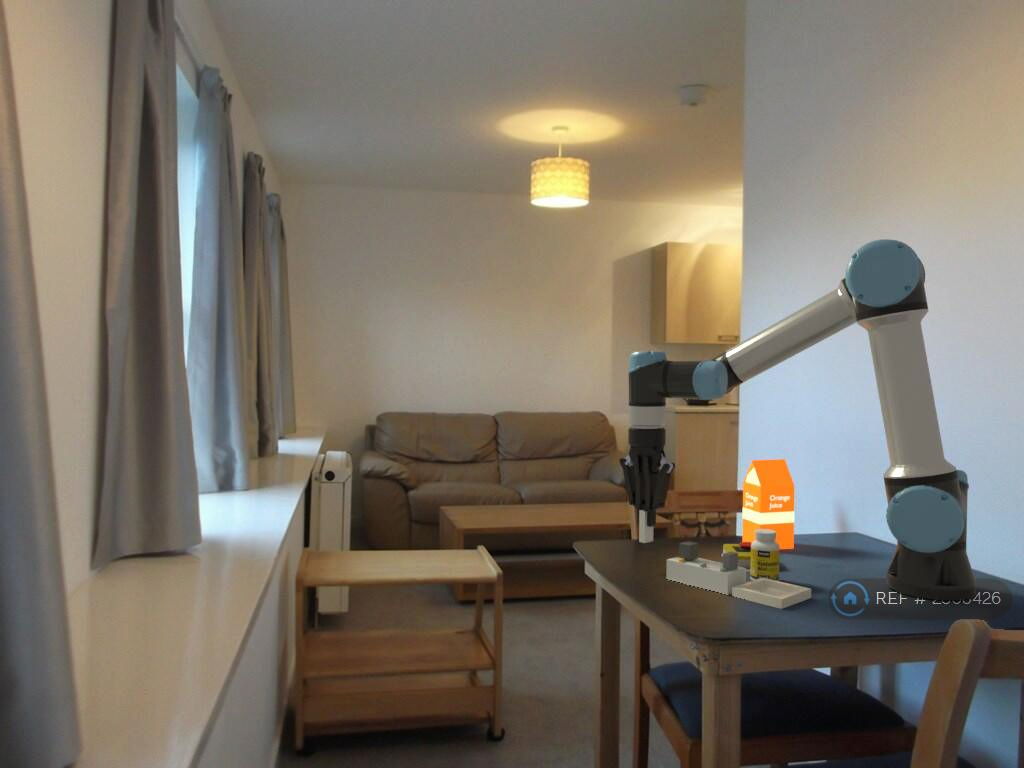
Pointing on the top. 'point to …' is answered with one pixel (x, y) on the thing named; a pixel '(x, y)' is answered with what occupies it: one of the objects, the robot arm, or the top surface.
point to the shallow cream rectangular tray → (771, 593)
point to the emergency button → (740, 553)
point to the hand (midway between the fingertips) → (646, 541)
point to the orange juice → (769, 501)
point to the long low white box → (708, 573)
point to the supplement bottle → (765, 555)
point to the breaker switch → (688, 550)
